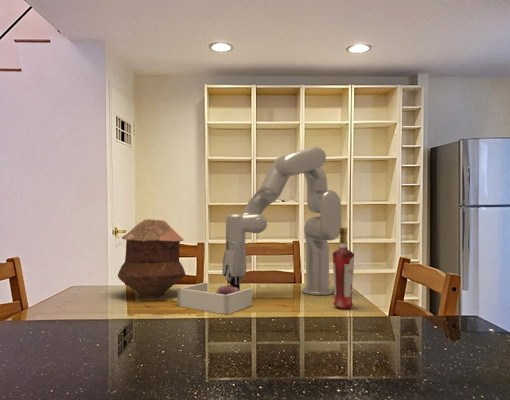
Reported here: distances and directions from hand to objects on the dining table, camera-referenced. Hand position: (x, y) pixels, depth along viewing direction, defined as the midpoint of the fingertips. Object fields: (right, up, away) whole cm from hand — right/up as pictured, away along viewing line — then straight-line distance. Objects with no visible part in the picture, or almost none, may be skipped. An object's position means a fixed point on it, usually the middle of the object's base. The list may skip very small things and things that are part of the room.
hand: (234, 294), depth 148 cm
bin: (-6, -1, -10) cm, 12 cm away
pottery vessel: (-33, -2, +7) cm, 34 cm away
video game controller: (-3, -2, -5) cm, 6 cm away
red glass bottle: (+39, -2, -12) cm, 40 cm away
